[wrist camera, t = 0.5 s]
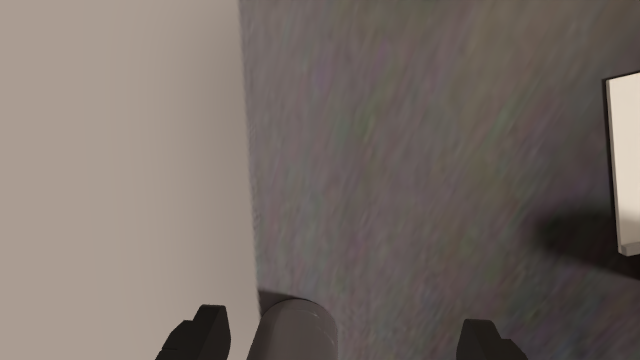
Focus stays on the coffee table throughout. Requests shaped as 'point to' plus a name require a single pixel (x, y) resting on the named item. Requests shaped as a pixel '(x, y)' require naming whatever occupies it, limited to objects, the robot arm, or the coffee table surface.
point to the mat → (625, 158)
